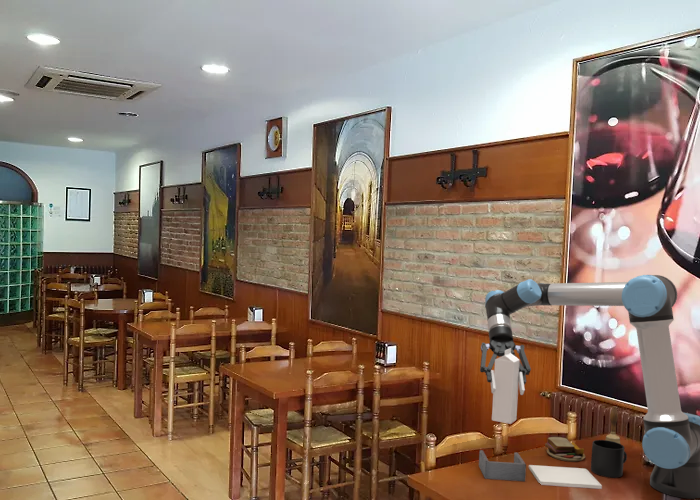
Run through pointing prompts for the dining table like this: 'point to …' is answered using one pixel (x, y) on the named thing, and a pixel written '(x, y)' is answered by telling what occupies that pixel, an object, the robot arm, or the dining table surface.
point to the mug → (608, 458)
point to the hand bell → (613, 426)
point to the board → (564, 476)
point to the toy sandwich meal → (564, 449)
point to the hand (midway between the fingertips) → (508, 391)
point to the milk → (506, 388)
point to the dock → (502, 468)
